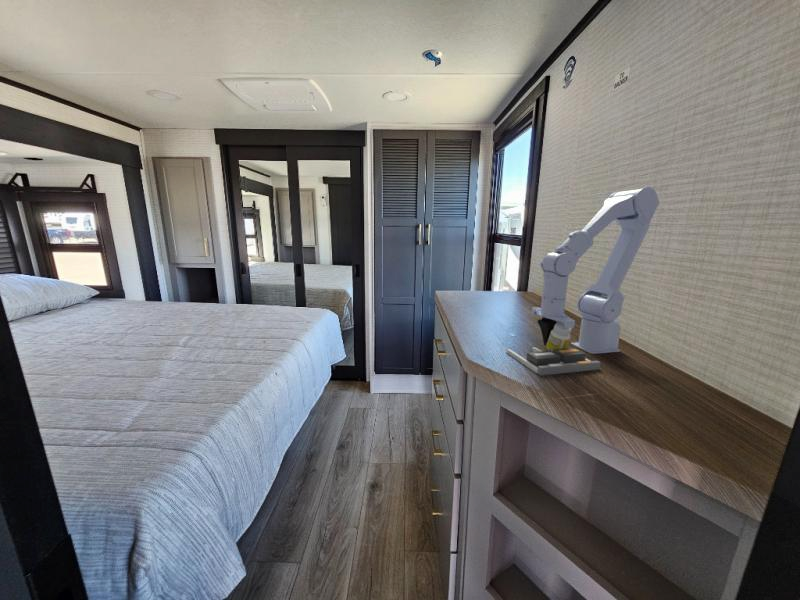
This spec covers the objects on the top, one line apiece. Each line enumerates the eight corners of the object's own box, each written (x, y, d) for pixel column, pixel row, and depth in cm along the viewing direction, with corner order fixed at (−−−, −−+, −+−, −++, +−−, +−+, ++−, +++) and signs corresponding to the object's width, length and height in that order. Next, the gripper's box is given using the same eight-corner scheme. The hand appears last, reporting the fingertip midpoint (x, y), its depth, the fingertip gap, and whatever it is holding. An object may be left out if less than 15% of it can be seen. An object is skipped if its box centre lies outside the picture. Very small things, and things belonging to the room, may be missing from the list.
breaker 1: (548, 360, 79) (549, 349, 78) (559, 367, 75) (560, 355, 74) (526, 362, 77) (527, 351, 77) (536, 369, 74) (537, 358, 73)
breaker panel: (558, 349, 88) (559, 341, 87) (599, 369, 74) (600, 361, 74) (506, 353, 84) (507, 345, 84) (539, 376, 71) (540, 367, 70)
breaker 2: (572, 357, 81) (574, 347, 80) (584, 363, 77) (586, 352, 76) (551, 359, 80) (552, 348, 79) (562, 366, 76) (564, 354, 75)
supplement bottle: (560, 348, 85) (570, 323, 81) (565, 359, 81) (576, 333, 77) (542, 346, 85) (551, 320, 81) (547, 356, 81) (556, 330, 77)
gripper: (524, 293, 89) (520, 337, 91) (559, 304, 75) (553, 356, 78) (545, 292, 90) (540, 336, 93) (584, 303, 76) (577, 354, 79)
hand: (548, 345), depth 85 cm, fingers closed
